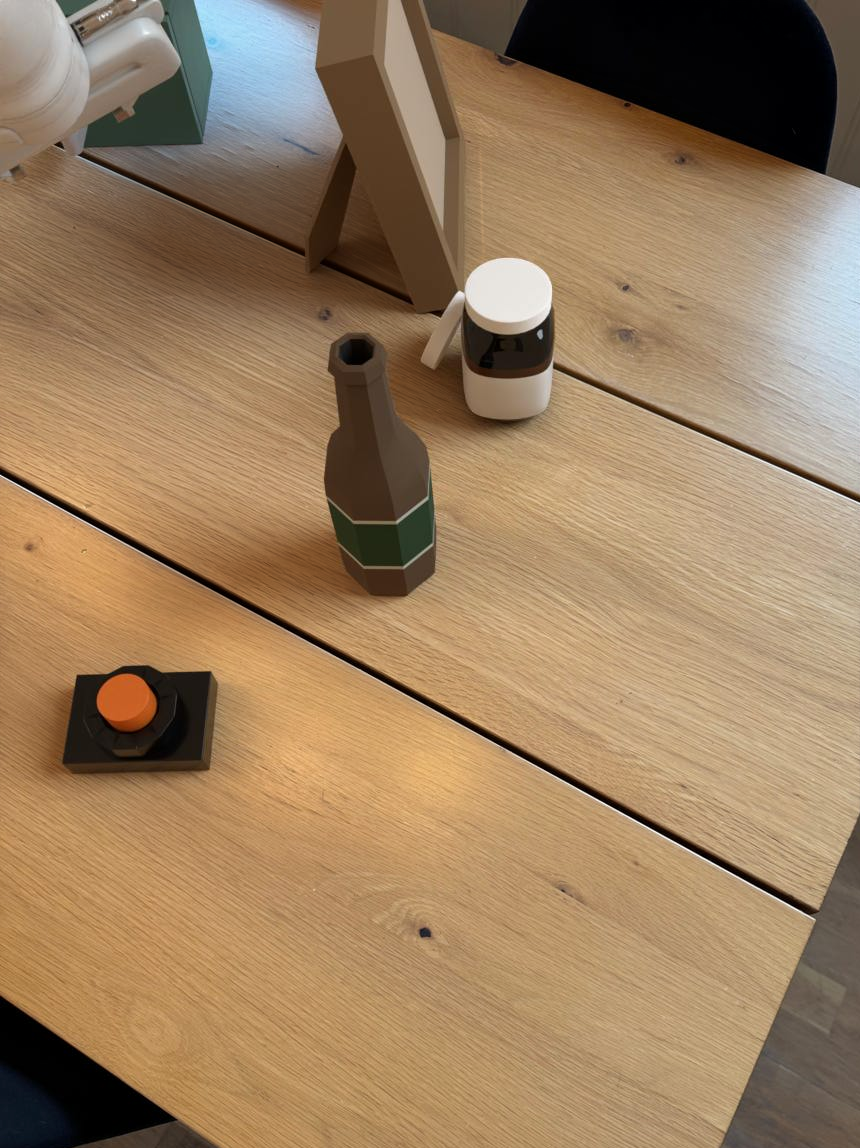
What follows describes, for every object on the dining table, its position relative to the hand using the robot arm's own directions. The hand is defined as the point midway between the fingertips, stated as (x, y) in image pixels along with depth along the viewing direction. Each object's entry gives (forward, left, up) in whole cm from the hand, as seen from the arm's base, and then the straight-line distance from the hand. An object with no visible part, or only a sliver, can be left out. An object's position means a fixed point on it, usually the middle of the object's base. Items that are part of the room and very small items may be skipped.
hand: (67, 140), depth 80 cm
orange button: (+5, -41, -15) cm, 44 cm away
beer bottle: (+23, -27, -19) cm, 40 cm away
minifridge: (-3, +29, -18) cm, 35 cm away
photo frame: (+22, +10, -19) cm, 31 cm away
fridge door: (-3, +21, -18) cm, 28 cm away
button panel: (+5, -41, -18) cm, 45 cm away
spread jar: (+31, -9, -19) cm, 38 cm away
